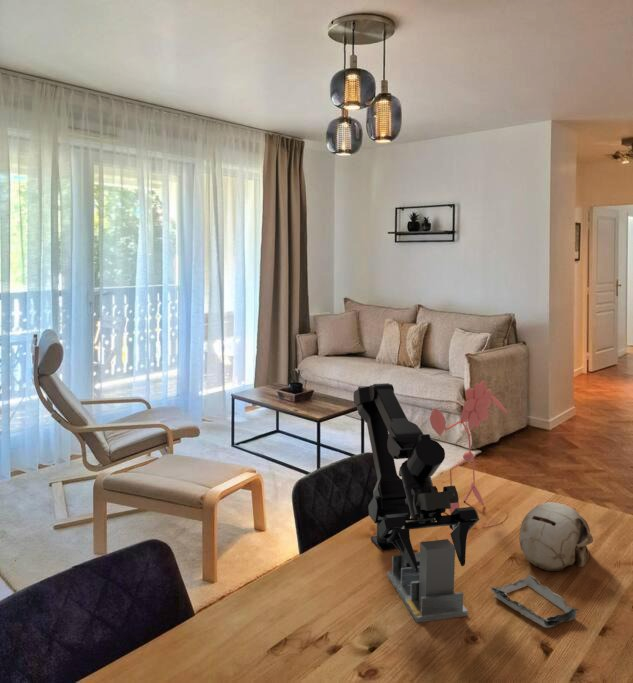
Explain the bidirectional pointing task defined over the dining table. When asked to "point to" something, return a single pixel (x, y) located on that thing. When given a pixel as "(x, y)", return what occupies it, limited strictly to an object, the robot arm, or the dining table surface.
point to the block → (436, 568)
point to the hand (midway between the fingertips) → (440, 568)
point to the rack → (430, 605)
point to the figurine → (474, 413)
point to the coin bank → (555, 537)
